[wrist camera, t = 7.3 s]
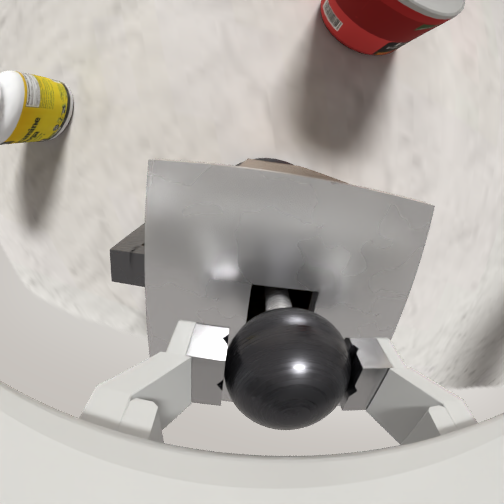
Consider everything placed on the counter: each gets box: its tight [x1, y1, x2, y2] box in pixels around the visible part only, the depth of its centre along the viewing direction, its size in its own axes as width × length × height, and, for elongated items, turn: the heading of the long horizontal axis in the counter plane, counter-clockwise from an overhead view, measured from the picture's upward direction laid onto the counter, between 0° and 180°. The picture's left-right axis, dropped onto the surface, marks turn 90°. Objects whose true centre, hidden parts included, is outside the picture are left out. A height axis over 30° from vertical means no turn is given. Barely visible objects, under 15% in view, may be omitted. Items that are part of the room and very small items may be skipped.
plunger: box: [224, 286, 351, 430], centre depth 14 cm, size 7×7×17 cm
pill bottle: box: [0, 71, 73, 145], centre depth 15 cm, size 6×6×11 cm
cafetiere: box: [110, 158, 435, 406], centre depth 17 cm, size 13×10×15 cm
